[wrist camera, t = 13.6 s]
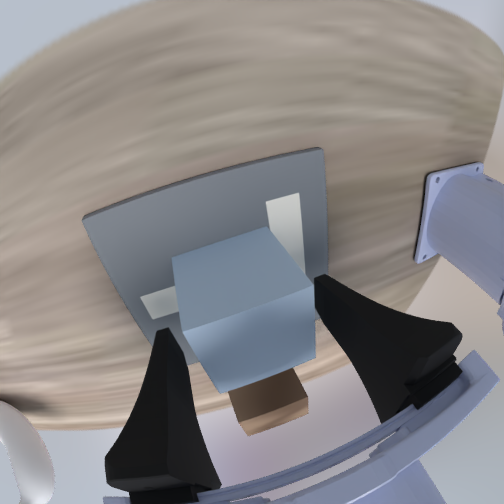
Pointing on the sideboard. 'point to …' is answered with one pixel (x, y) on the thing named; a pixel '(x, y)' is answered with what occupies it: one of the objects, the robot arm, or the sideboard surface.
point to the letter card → (209, 229)
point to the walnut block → (269, 402)
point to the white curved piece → (26, 456)
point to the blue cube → (245, 308)
